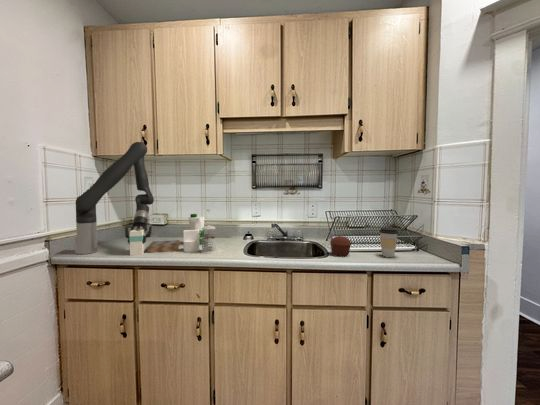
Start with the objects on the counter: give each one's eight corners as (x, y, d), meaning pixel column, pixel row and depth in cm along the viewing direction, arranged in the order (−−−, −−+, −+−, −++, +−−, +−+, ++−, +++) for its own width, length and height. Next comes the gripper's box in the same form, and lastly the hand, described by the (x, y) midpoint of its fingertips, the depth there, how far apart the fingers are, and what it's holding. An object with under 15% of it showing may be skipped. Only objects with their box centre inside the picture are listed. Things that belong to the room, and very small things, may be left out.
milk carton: (194, 242, 166) (193, 213, 165) (206, 242, 164) (206, 213, 163) (187, 245, 157) (186, 214, 156) (200, 245, 155) (199, 214, 155)
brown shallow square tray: (147, 253, 137) (147, 246, 136) (152, 246, 152) (152, 241, 152) (177, 251, 141) (177, 244, 141) (179, 245, 156) (179, 239, 156)
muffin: (326, 255, 133) (327, 237, 133) (333, 251, 142) (333, 234, 142) (348, 258, 127) (349, 239, 126) (353, 253, 136) (354, 236, 136)
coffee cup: (383, 253, 138) (384, 227, 137) (400, 256, 130) (401, 229, 130) (375, 255, 132) (375, 228, 131) (392, 259, 125) (393, 230, 124)
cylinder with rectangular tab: (200, 248, 149) (200, 229, 148) (198, 251, 140) (198, 231, 139) (185, 248, 147) (185, 229, 147) (182, 252, 138) (182, 231, 138)
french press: (212, 254, 134) (211, 209, 133) (194, 252, 137) (193, 209, 136) (220, 250, 143) (220, 208, 142) (203, 248, 147) (203, 208, 146)
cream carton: (129, 255, 131) (129, 230, 131) (132, 252, 137) (132, 228, 136) (142, 254, 133) (141, 229, 132) (144, 252, 139) (144, 227, 138)
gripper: (126, 215, 139) (120, 240, 128) (153, 215, 143) (149, 238, 133) (128, 223, 145) (123, 247, 134) (154, 223, 149) (151, 246, 138)
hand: (136, 243), depth 133 cm, fingers closed on cream carton, 6 cm apart
